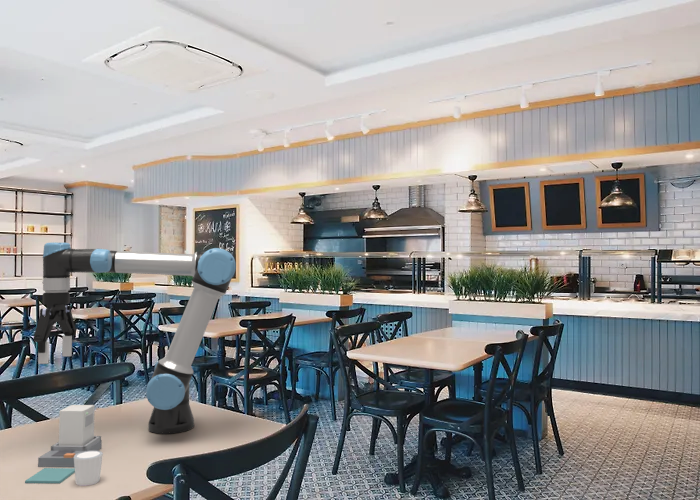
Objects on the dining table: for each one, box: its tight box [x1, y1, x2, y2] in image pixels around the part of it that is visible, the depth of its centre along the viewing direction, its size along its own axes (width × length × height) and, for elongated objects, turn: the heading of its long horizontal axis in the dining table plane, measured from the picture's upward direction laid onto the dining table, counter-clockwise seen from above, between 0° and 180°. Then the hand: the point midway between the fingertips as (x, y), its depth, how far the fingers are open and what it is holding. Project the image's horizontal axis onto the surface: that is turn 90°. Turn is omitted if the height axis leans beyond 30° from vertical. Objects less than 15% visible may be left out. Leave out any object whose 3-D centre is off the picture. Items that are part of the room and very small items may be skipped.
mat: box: [24, 467, 75, 484], centre depth 146 cm, size 9×9×1 cm
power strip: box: [37, 435, 103, 468], centre depth 166 cm, size 10×24×4 cm, turn 0°
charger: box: [58, 404, 96, 446], centre depth 165 cm, size 8×7×11 cm
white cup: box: [73, 450, 104, 487], centre depth 143 cm, size 7×7×7 cm
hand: (55, 359), depth 172 cm, fingers open, 13 cm apart
